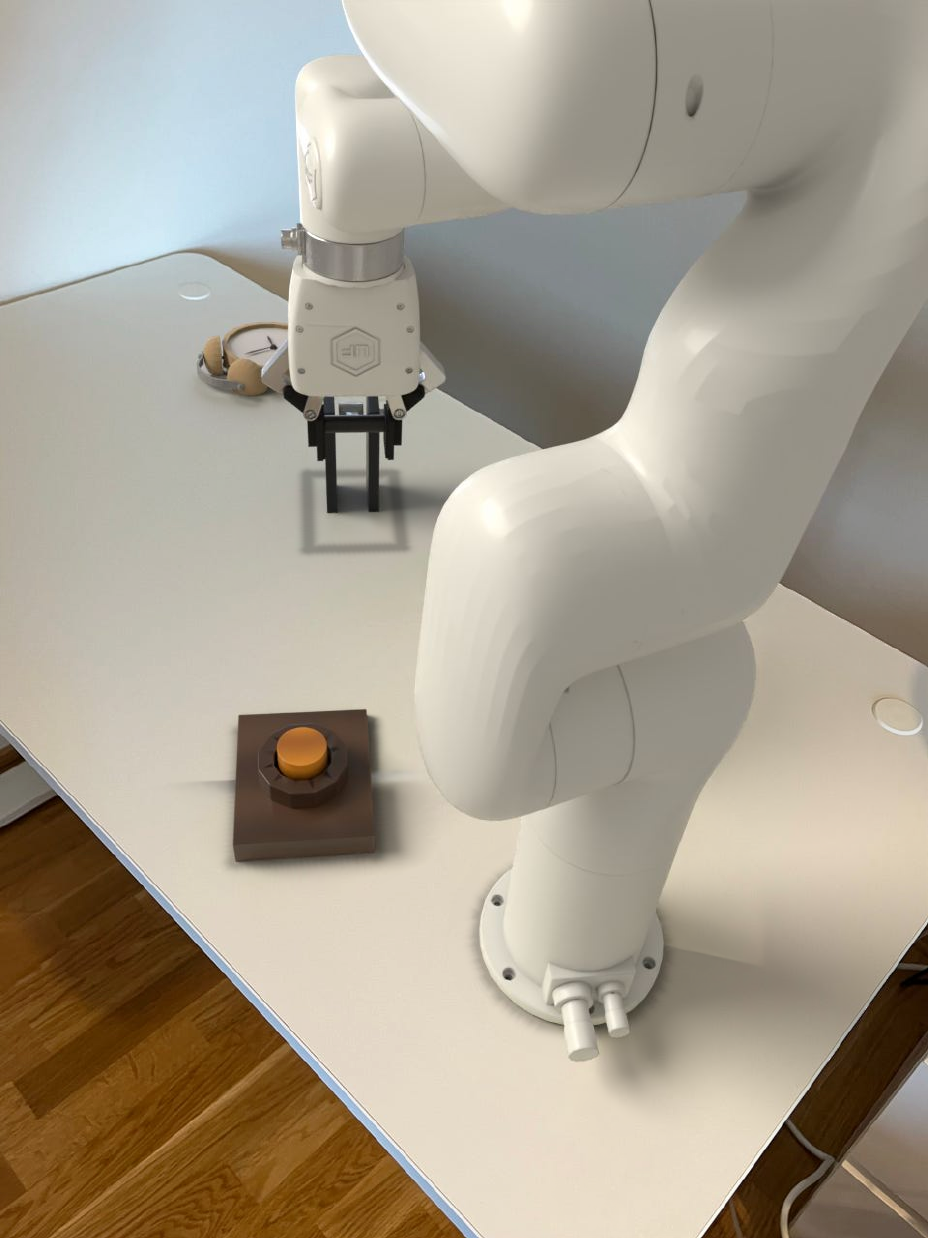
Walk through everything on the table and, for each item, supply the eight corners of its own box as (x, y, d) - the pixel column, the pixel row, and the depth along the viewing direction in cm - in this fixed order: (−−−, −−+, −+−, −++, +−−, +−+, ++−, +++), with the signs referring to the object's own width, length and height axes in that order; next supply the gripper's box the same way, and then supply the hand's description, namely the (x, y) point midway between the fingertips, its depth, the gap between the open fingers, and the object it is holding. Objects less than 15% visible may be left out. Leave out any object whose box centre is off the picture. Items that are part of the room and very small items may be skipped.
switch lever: (385, 438, 89) (385, 409, 88) (325, 439, 88) (324, 409, 88) (377, 427, 100) (377, 401, 100) (324, 428, 100) (323, 402, 99)
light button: (327, 779, 78) (327, 764, 77) (277, 782, 77) (276, 767, 76) (326, 741, 80) (326, 726, 79) (278, 743, 80) (277, 728, 79)
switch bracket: (401, 547, 102) (405, 436, 94) (307, 550, 101) (301, 438, 92) (393, 472, 111) (395, 364, 102) (305, 474, 110) (300, 364, 101)
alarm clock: (344, 353, 122) (232, 373, 112) (339, 392, 124) (229, 415, 115) (287, 313, 127) (175, 329, 118) (283, 352, 130) (173, 370, 121)
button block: (374, 853, 78) (375, 821, 75) (235, 862, 77) (230, 829, 74) (366, 726, 86) (366, 693, 84) (240, 732, 85) (236, 699, 82)
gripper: (232, 269, 74) (251, 479, 87) (474, 271, 77) (459, 476, 89) (236, 222, 80) (254, 427, 92) (462, 225, 82) (449, 424, 95)
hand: (355, 449), depth 91 cm, fingers closed on switch lever, 5 cm apart
